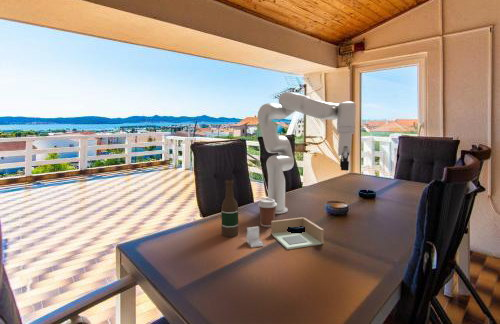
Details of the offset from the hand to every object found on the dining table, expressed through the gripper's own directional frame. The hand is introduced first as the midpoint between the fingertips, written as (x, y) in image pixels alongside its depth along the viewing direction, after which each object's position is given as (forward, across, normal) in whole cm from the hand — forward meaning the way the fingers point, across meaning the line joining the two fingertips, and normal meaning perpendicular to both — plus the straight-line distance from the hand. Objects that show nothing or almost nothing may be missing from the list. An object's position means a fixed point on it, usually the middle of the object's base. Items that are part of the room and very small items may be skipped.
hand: (344, 168), depth 121 cm
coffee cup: (+28, +5, -34) cm, 45 cm away
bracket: (+28, +28, -34) cm, 52 cm away
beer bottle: (+28, +21, -47) cm, 59 cm away
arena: (+28, +18, -19) cm, 38 cm away
